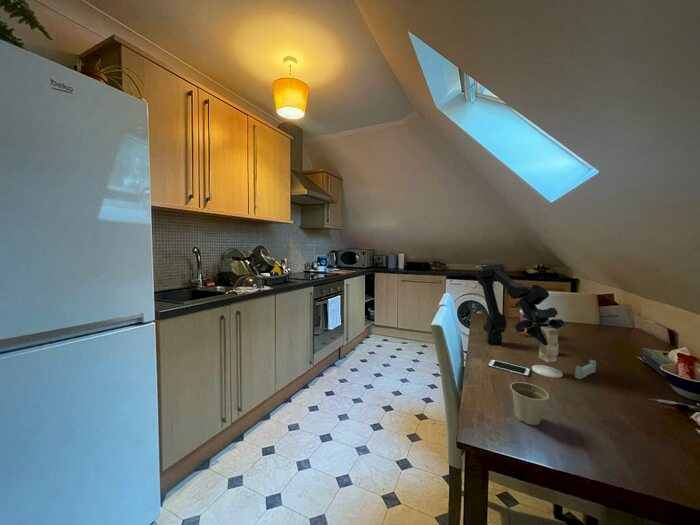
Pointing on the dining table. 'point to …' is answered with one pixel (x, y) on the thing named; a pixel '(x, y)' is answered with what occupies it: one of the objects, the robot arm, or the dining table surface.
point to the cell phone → (509, 368)
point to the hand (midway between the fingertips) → (551, 344)
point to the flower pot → (528, 402)
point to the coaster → (547, 371)
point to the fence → (585, 370)
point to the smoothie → (524, 328)
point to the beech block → (549, 344)
